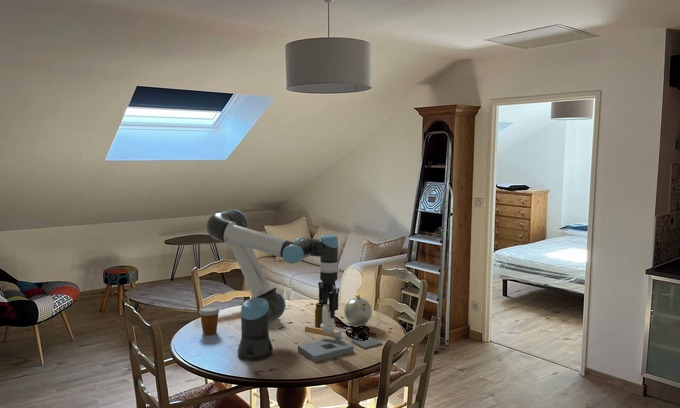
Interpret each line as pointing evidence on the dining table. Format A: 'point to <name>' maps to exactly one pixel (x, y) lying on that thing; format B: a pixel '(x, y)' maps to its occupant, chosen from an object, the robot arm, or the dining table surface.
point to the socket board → (325, 349)
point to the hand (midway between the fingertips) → (328, 323)
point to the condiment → (318, 316)
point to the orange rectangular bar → (320, 332)
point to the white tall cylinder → (326, 321)
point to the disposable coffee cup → (209, 319)
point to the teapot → (357, 312)
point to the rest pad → (367, 343)
